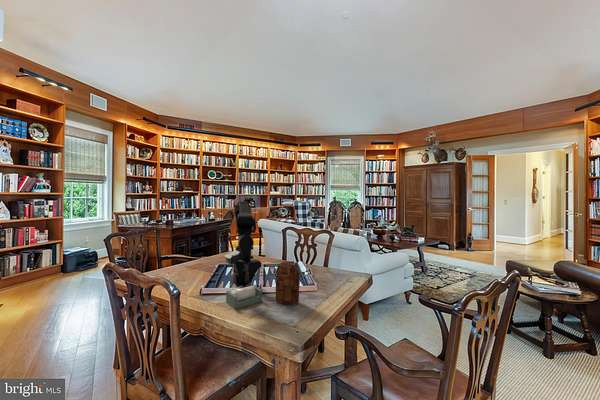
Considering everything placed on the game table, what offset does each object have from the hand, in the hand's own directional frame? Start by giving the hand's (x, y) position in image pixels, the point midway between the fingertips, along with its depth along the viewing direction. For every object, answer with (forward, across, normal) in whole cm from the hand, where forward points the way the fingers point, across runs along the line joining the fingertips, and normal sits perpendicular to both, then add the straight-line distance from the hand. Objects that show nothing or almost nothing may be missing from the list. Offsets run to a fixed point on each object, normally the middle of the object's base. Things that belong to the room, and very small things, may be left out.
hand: (244, 279), depth 125 cm
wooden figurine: (+10, +11, +15) cm, 21 cm away
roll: (+9, 0, 0) cm, 9 cm away
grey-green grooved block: (+10, 0, 0) cm, 10 cm away
